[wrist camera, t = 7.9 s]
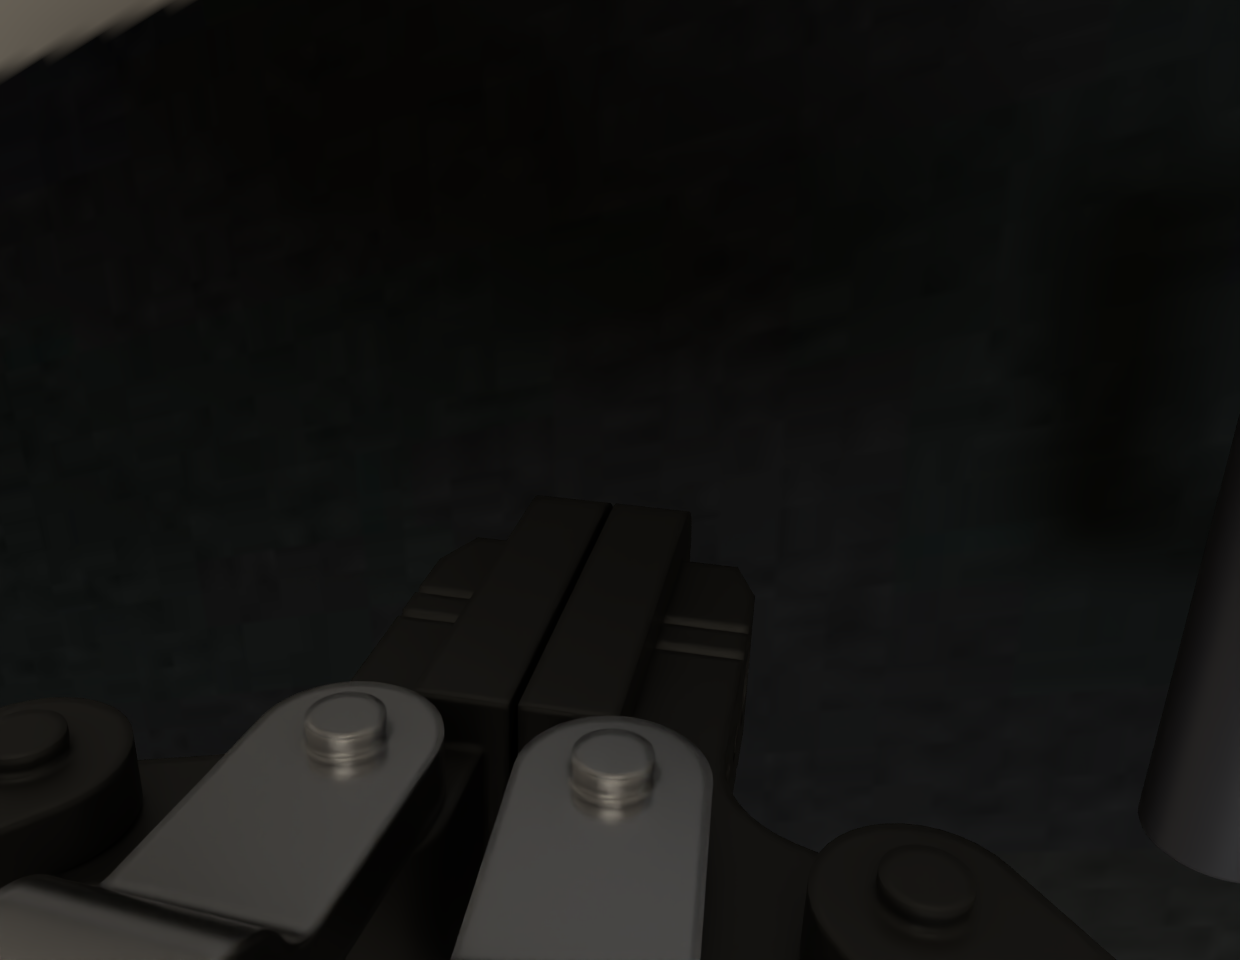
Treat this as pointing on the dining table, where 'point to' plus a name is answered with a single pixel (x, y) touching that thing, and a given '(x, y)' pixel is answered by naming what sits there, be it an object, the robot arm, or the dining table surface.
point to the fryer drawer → (1204, 711)
